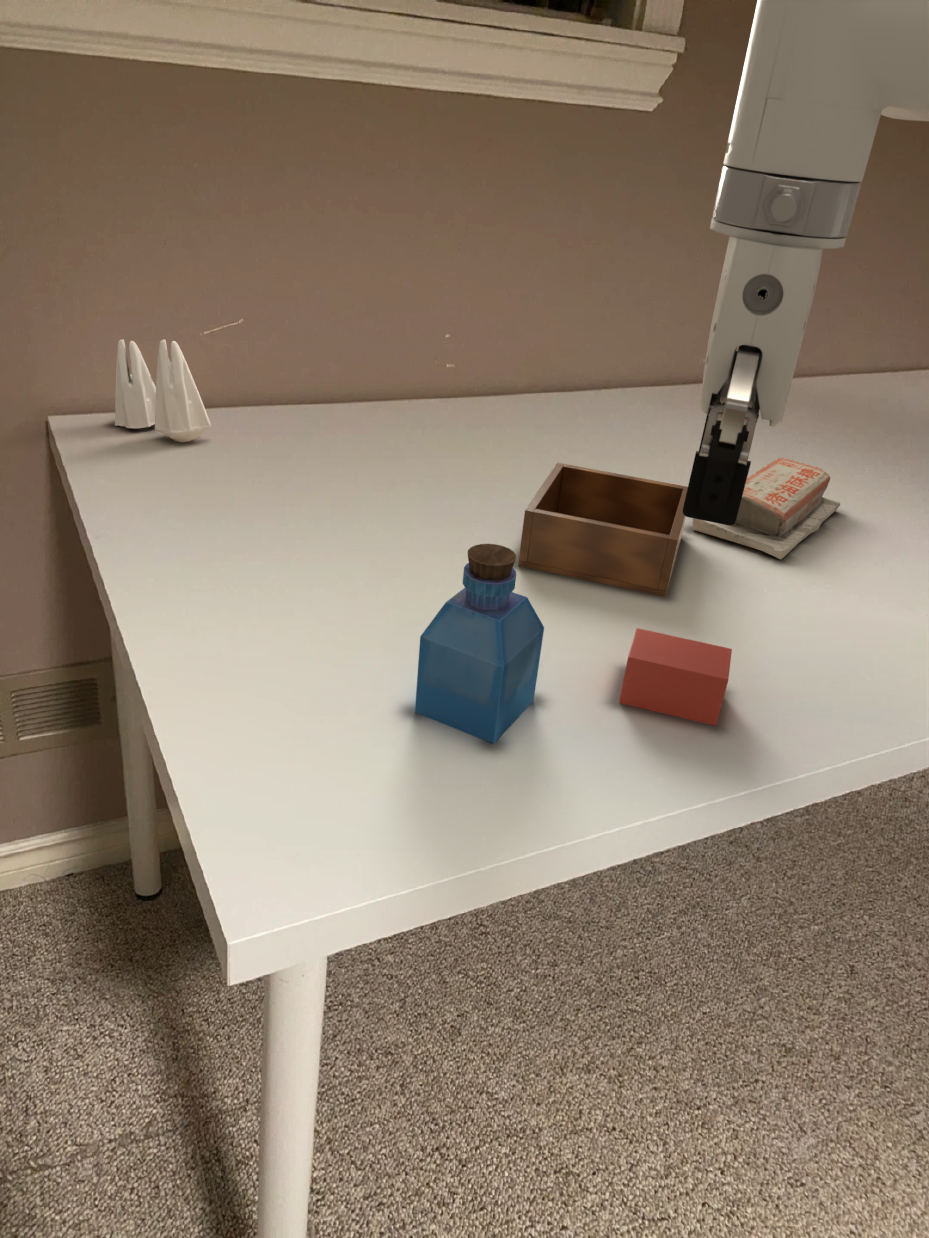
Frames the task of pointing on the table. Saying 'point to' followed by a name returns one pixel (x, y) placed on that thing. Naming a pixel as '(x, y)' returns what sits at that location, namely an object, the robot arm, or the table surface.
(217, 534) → the table surface
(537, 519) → the holder
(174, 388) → the shaker set
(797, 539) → the packaged product
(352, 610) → the table surface
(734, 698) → the table surface
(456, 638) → the perfume bottle
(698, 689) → the block
